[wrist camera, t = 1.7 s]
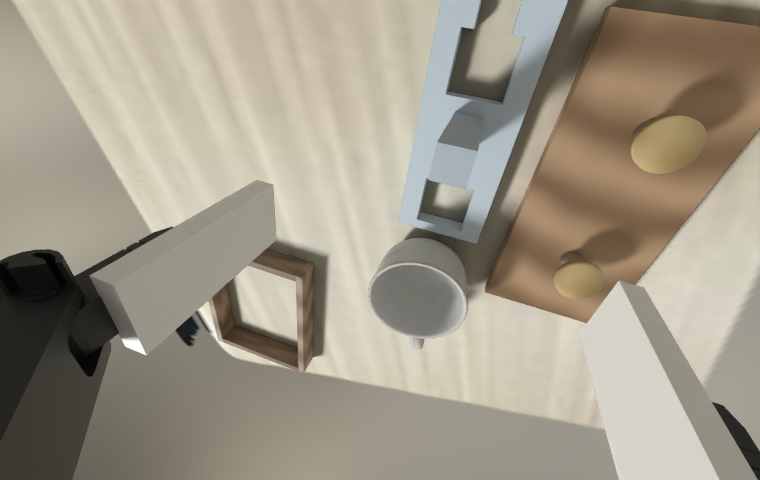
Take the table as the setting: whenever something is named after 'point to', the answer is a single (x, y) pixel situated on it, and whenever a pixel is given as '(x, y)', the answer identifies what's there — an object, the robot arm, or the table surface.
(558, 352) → the table surface
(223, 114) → the table surface
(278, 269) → the open brown wooden frame
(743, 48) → the boss board
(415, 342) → the teacup
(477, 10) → the blue post stand
